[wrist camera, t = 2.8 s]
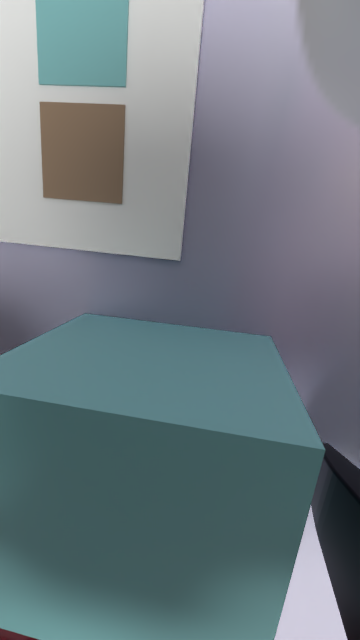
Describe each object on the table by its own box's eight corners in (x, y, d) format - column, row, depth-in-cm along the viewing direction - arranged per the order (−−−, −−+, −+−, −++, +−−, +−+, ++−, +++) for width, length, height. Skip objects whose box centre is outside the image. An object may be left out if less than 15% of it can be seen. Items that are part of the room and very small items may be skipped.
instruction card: (180, 260, 8) (179, 260, 8) (-3, 241, 9) (-8, 241, 9) (215, -115, 6) (214, -128, 6) (-32, -99, 7) (-40, -110, 7)
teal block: (242, 489, 10) (256, 702, 5) (88, 459, 11) (-17, 622, 6) (270, 335, 9) (325, 449, 4) (86, 312, 9) (-58, 383, 5)
